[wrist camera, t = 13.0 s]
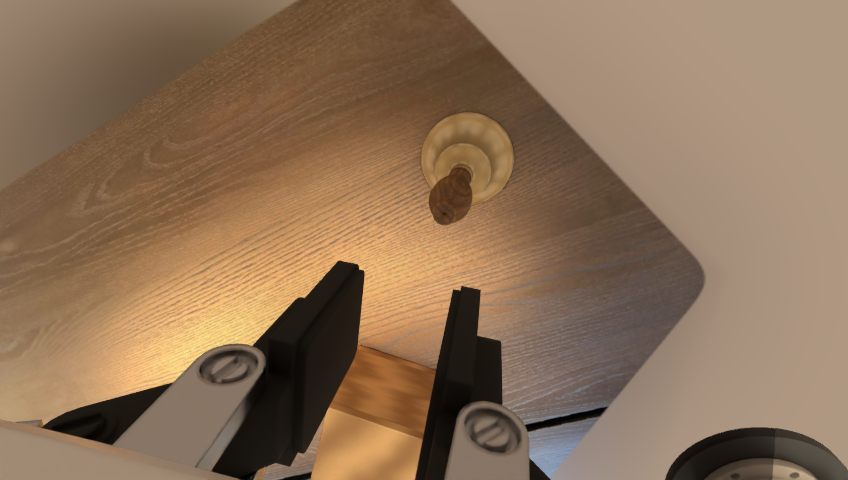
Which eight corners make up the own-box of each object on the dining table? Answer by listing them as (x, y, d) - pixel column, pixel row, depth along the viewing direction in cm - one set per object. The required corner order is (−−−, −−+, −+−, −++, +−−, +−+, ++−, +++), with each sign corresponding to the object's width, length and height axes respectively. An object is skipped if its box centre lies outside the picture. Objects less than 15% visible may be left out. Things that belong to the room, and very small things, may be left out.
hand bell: (508, 208, 38) (515, 287, 23) (419, 200, 39) (372, 271, 24) (519, 114, 35) (536, 136, 20) (423, 109, 36) (371, 125, 21)
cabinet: (484, 386, 45) (481, 460, 36) (452, 464, 50) (442, 545, 41) (360, 344, 46) (327, 406, 37) (339, 424, 51) (306, 496, 42)
